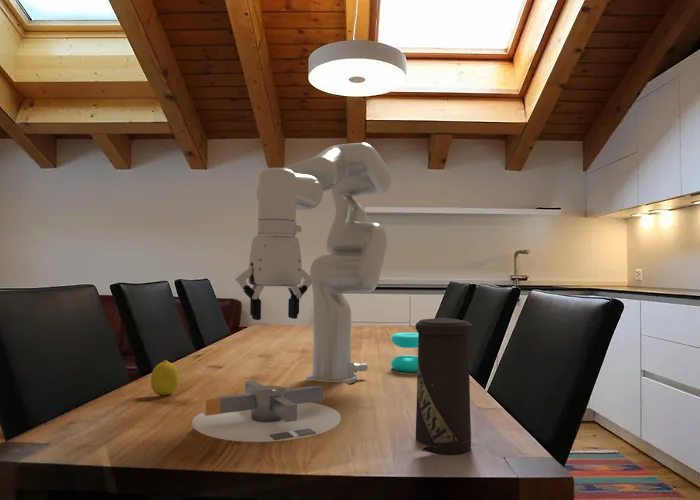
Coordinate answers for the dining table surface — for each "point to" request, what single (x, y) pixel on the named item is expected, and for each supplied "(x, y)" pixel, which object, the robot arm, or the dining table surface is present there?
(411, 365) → the donuts
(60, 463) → the dining table surface
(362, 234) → the robot arm
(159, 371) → the lemon
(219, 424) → the stand
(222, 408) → the capstan
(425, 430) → the container
